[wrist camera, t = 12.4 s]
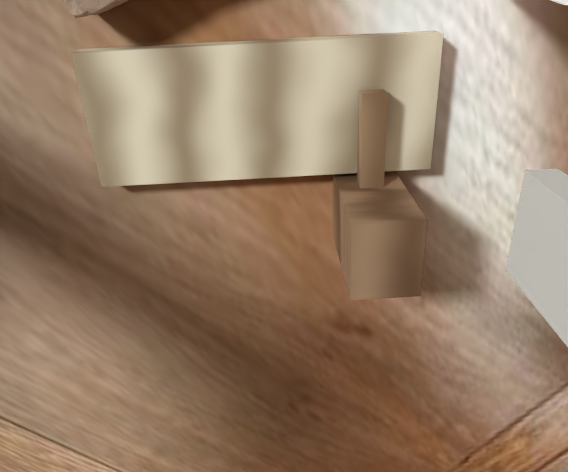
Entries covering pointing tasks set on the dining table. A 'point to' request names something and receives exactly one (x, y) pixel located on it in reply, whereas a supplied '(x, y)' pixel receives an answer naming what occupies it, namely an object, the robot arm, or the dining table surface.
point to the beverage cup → (561, 1)
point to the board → (255, 106)
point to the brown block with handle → (377, 216)
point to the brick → (91, 6)
